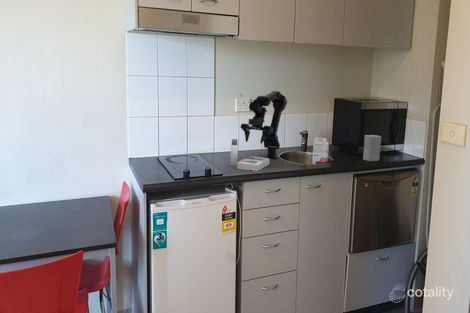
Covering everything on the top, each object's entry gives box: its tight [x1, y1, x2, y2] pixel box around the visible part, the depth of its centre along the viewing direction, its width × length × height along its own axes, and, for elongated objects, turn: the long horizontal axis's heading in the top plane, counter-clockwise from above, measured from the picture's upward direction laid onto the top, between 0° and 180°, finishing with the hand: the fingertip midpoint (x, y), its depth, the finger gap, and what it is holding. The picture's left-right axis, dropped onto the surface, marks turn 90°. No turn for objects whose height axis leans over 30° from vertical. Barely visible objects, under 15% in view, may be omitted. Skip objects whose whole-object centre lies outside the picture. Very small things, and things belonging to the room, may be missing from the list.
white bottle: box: [230, 138, 239, 167], centre depth 244 cm, size 4×4×15 cm
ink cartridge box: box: [312, 137, 330, 163], centre depth 262 cm, size 9×5×15 cm, turn 62°
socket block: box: [236, 155, 271, 172], centre depth 244 cm, size 20×12×4 cm, turn 156°
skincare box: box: [362, 134, 382, 162], centre depth 268 cm, size 8×7×16 cm
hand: (253, 142), depth 244 cm, fingers open, 9 cm apart
